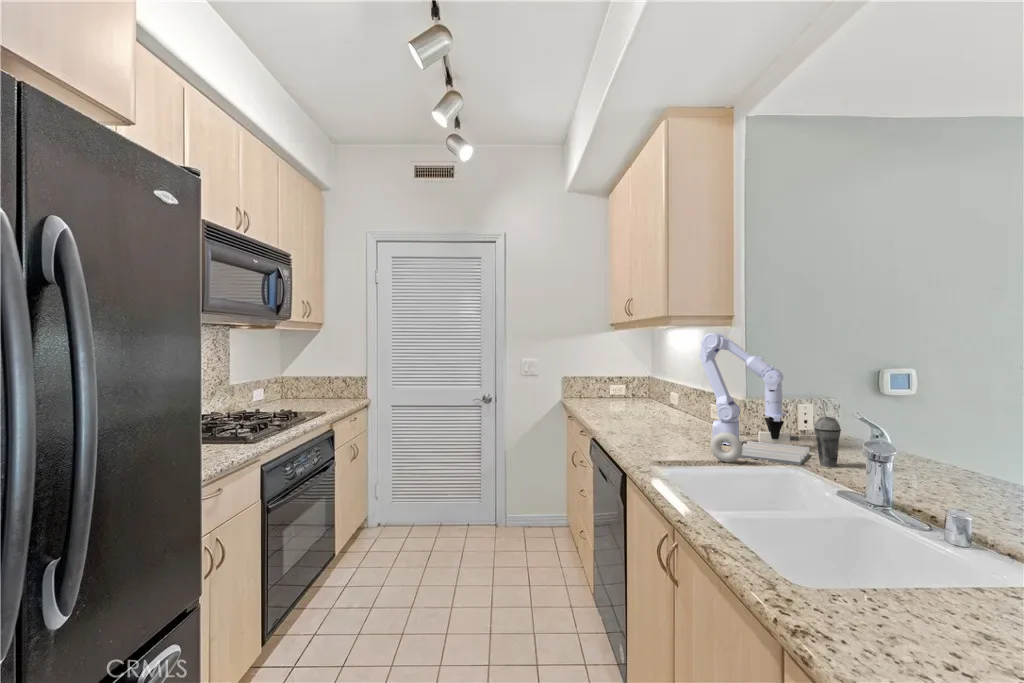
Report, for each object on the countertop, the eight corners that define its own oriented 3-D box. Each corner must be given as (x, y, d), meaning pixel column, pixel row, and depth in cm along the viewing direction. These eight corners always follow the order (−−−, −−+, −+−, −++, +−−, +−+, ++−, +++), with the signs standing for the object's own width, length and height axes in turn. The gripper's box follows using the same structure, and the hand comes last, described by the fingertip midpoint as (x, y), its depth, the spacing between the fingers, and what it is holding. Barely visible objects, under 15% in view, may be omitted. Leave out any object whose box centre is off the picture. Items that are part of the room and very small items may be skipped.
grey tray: (734, 457, 170) (734, 449, 170) (747, 448, 183) (747, 440, 183) (800, 465, 157) (800, 456, 157) (809, 455, 170) (809, 447, 170)
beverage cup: (846, 468, 152) (844, 404, 152) (820, 467, 153) (819, 404, 153) (835, 463, 159) (834, 401, 159) (811, 462, 160) (809, 401, 161)
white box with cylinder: (759, 442, 182) (759, 432, 182) (758, 440, 185) (758, 431, 185) (799, 444, 178) (799, 434, 178) (797, 442, 181) (797, 433, 181)
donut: (743, 463, 161) (743, 432, 161) (741, 465, 158) (741, 434, 158) (712, 459, 167) (711, 430, 167) (709, 461, 164) (708, 431, 164)
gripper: (789, 404, 174) (790, 442, 174) (782, 399, 188) (782, 435, 188) (767, 403, 176) (768, 441, 176) (761, 399, 190) (762, 434, 190)
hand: (774, 438), depth 182 cm, fingers closed on white box with cylinder, 3 cm apart
